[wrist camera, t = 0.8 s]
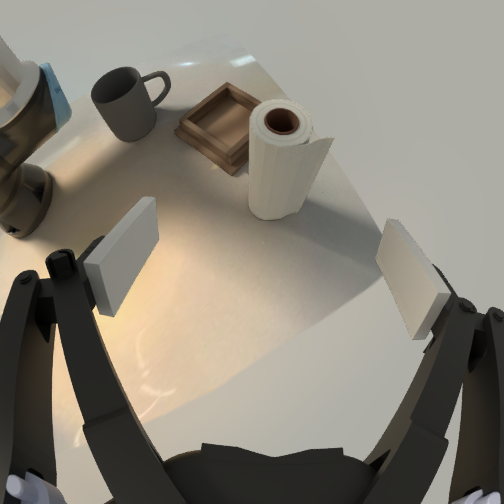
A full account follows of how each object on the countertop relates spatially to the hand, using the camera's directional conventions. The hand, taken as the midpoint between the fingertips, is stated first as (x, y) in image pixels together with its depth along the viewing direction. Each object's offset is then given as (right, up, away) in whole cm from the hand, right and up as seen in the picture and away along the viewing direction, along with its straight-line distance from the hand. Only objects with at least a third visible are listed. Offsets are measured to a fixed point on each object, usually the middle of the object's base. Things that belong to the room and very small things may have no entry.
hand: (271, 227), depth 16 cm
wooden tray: (-5, +21, +33) cm, 39 cm away
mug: (-22, +24, +34) cm, 47 cm away
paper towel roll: (+2, +6, +30) cm, 31 cm away
